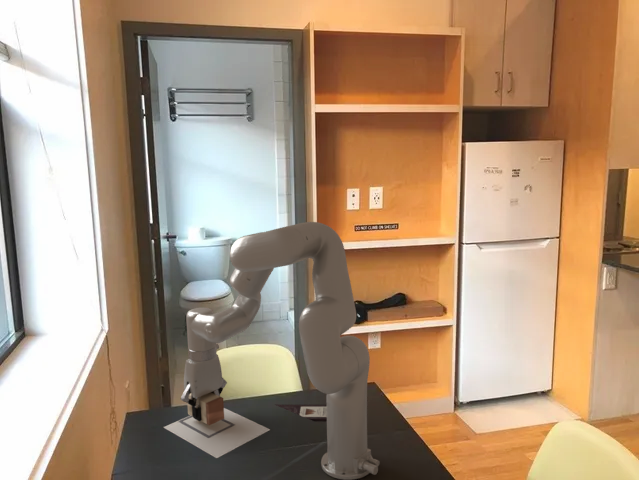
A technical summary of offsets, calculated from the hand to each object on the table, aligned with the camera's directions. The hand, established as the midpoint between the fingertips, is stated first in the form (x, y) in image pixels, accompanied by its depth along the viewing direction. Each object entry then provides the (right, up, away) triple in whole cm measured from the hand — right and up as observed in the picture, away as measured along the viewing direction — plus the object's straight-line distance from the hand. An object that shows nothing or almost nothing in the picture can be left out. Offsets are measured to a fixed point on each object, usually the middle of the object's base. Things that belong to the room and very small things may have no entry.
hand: (205, 414), depth 146 cm
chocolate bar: (+26, -2, +6) cm, 27 cm away
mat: (+3, -3, -3) cm, 6 cm away
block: (0, 0, 0) cm, 0 cm away
